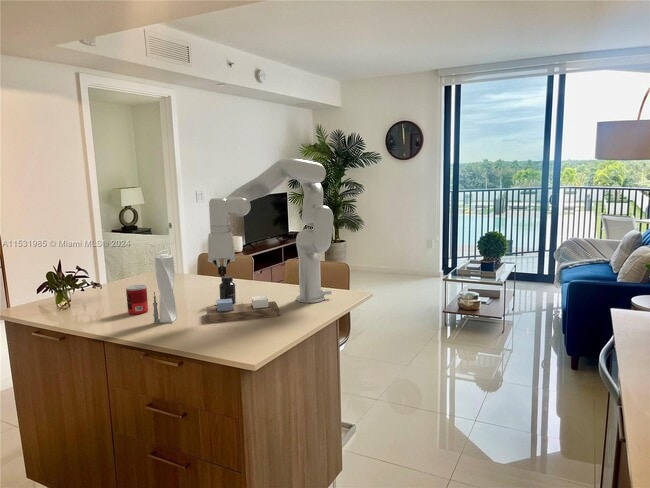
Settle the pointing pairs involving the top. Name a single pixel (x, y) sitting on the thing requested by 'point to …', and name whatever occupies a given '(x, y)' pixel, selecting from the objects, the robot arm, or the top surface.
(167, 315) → the skyscraper
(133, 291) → the canned food
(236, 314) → the wooden board
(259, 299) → the white square block
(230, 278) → the supplement bottle
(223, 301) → the light blue square block
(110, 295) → the top surface
